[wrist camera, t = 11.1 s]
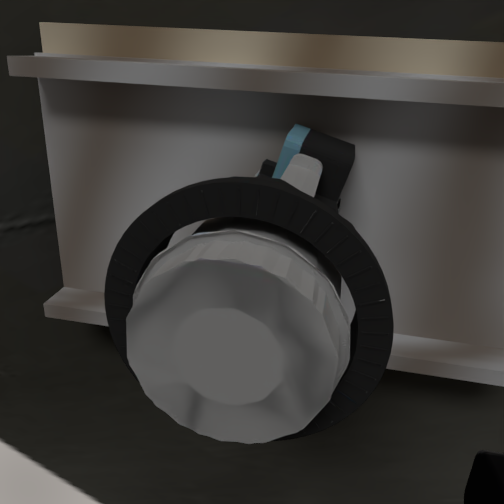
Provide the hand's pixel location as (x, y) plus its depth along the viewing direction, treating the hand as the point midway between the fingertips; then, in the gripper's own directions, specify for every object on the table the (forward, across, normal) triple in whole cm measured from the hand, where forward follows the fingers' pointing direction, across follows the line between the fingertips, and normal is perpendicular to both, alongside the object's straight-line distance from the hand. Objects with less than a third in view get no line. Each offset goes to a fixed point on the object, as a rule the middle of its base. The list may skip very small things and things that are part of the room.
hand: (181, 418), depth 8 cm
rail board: (+12, 0, 0) cm, 12 cm away
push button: (+11, -1, 0) cm, 11 cm away
